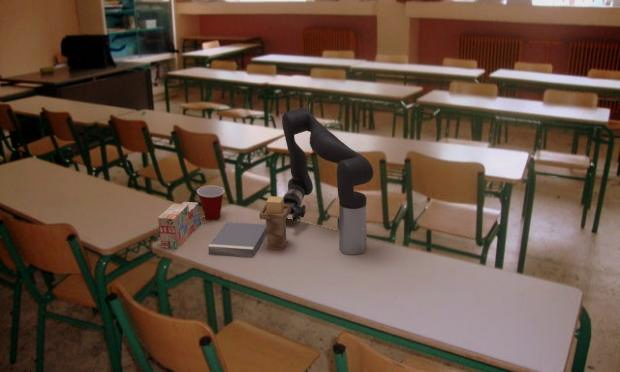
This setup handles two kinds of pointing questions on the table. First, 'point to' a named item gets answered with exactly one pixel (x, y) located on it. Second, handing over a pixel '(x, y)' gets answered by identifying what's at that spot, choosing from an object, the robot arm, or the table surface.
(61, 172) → the table surface
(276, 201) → the carton
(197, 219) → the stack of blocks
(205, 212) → the plastic cup
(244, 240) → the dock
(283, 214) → the stand
